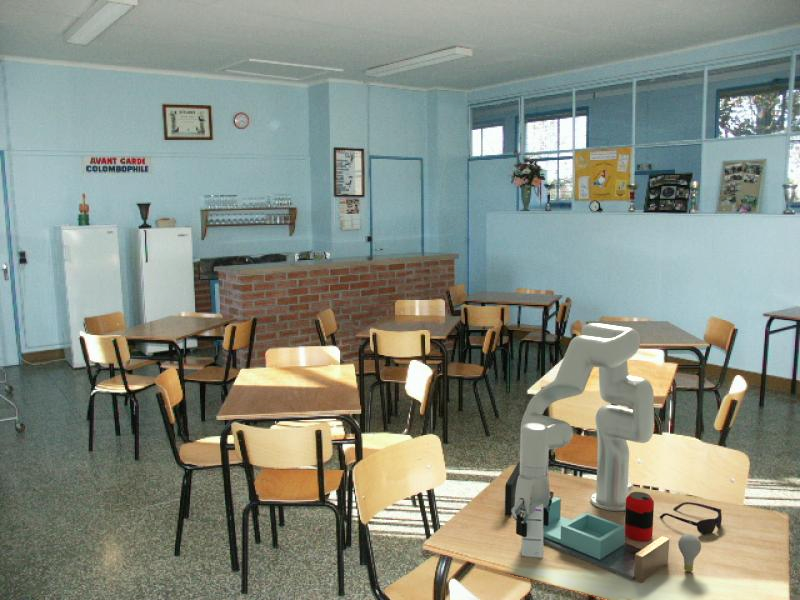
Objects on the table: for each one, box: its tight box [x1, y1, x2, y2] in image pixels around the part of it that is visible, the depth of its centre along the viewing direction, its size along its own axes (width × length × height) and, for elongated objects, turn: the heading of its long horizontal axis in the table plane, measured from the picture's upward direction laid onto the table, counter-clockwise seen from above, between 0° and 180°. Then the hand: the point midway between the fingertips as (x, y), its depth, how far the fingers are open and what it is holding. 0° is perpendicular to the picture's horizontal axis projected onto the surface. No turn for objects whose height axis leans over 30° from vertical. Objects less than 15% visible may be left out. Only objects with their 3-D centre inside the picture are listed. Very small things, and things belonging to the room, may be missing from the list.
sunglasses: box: [659, 501, 723, 536], centre depth 215 cm, size 14×16×5 cm
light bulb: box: [678, 533, 702, 573], centre depth 186 cm, size 6×5×10 cm
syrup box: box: [521, 504, 544, 559], centre depth 196 cm, size 6×6×14 cm
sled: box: [543, 496, 626, 560], centre depth 203 cm, size 12×22×7 cm, turn 43°
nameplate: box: [504, 461, 520, 516], centre depth 229 cm, size 21×2×10 cm, turn 159°
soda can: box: [624, 491, 655, 542], centre depth 206 cm, size 8×8×12 cm
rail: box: [543, 535, 670, 584], centre depth 199 cm, size 15×36×7 cm, turn 43°
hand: (532, 529), depth 196 cm, fingers open, 9 cm apart
